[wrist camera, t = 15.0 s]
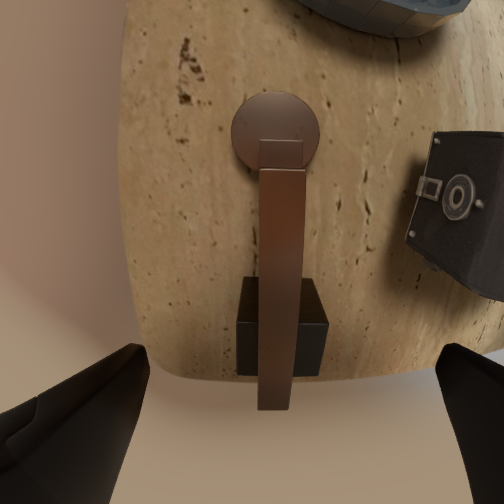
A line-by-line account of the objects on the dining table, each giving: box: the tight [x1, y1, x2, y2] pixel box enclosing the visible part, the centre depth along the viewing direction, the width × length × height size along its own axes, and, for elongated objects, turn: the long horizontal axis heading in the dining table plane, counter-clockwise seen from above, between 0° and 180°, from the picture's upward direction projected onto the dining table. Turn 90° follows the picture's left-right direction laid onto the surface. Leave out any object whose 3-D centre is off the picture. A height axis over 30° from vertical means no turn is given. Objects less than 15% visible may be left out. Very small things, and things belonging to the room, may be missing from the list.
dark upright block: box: [236, 276, 329, 377], centre depth 18 cm, size 4×5×6 cm
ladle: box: [231, 91, 320, 410], centre depth 15 cm, size 18×5×8 cm, turn 0°
